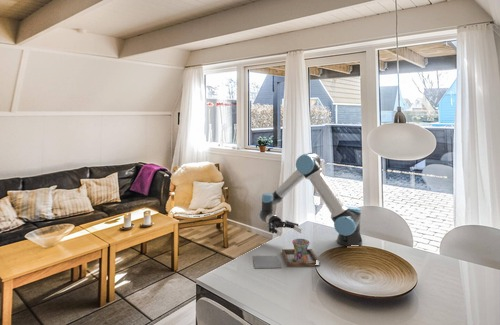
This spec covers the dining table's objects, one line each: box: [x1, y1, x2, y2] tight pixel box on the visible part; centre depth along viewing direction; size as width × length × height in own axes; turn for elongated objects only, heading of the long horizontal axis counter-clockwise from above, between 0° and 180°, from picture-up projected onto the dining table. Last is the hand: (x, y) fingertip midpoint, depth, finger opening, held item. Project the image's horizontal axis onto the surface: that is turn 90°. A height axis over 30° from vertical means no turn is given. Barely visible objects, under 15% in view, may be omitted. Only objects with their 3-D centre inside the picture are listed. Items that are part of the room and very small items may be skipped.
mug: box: [292, 238, 310, 262], centre depth 162 cm, size 12×9×11 cm
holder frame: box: [281, 248, 319, 268], centre depth 163 cm, size 17×17×2 cm
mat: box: [252, 255, 282, 270], centre depth 159 cm, size 14×14×1 cm
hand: (290, 232), depth 170 cm, fingers open, 13 cm apart
